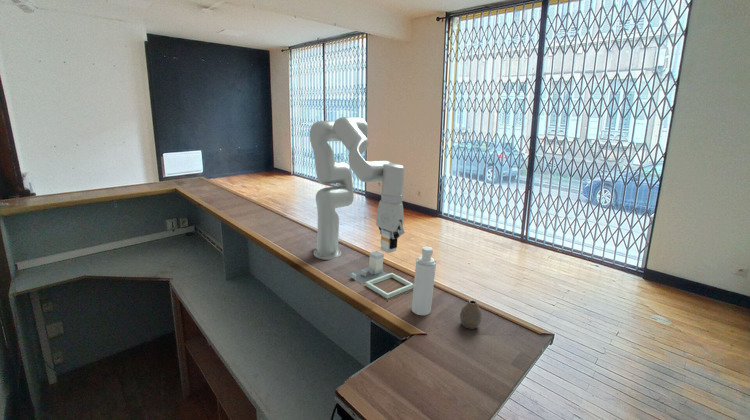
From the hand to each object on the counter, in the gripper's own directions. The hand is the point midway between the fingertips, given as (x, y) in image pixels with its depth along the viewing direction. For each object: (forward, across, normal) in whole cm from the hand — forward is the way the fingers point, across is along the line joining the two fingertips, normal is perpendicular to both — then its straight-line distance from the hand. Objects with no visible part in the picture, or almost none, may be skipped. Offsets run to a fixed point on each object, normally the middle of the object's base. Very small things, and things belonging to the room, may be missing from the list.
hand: (388, 245), depth 139 cm
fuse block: (+18, -12, +1) cm, 21 cm away
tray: (+18, +1, +1) cm, 18 cm away
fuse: (+16, -12, +5) cm, 21 cm away
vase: (+19, +34, +6) cm, 39 cm away
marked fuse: (+2, 0, 0) cm, 2 cm away
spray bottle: (+18, +18, 0) cm, 26 cm away
